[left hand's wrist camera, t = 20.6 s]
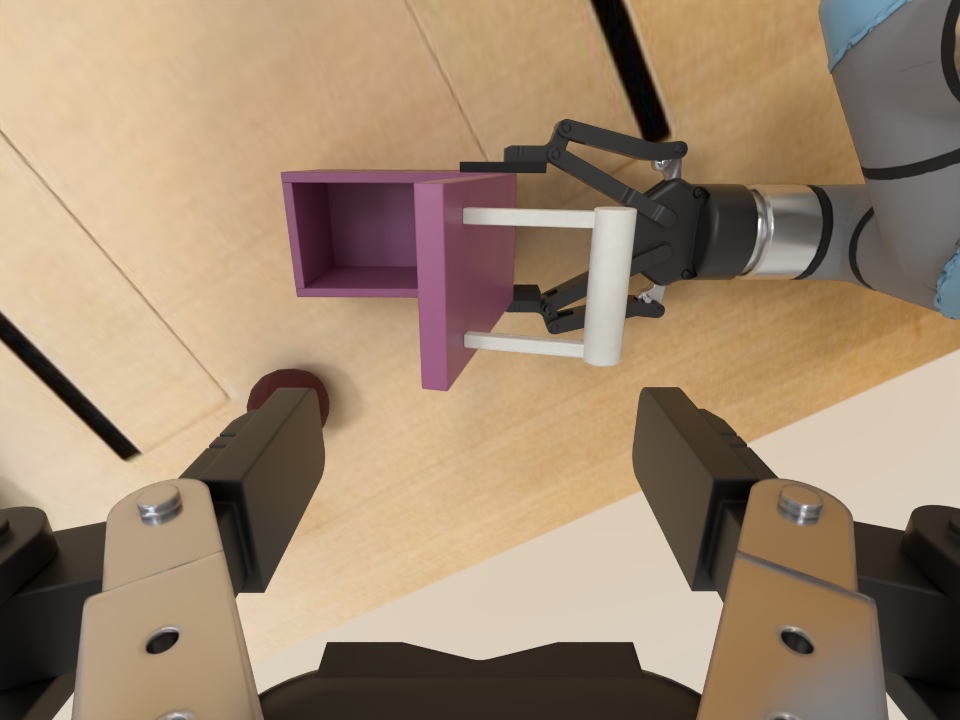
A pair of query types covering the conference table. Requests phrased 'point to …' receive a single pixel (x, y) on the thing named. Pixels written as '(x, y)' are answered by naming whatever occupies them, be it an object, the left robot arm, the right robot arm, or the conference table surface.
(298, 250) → the chest
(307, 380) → the potato
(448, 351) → the lid
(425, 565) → the conference table surface
